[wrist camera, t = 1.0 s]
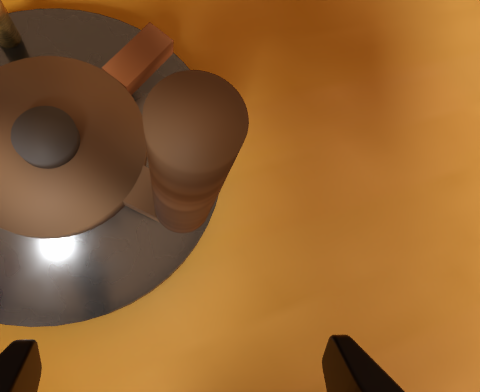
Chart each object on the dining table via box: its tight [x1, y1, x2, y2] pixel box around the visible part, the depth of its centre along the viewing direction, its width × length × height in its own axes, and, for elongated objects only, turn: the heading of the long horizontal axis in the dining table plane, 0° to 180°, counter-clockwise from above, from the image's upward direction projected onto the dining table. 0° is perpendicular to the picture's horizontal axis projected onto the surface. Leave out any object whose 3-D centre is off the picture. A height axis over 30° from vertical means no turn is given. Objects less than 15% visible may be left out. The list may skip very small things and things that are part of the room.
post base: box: [0, 0, 218, 327], centre depth 20 cm, size 17×17×5 cm
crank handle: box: [0, 23, 249, 239], centre depth 16 cm, size 12×13×11 cm
